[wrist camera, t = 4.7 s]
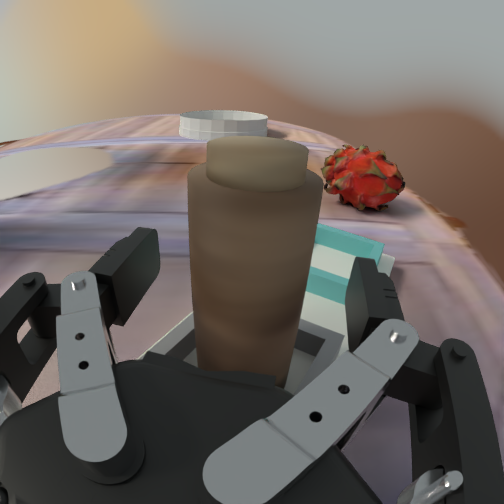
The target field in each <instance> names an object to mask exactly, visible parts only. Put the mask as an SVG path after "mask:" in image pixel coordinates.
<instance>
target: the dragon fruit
mask: <svg viewBox="0 0 504 504" xmlns="http://www.w3.org/2000/svg"><path fill="white" fill-rule="evenodd" d="M344 146H345V147H346V149H345V150H344V149H337V150H336V151H335V152H334V156H333V155H330V156H329V157H327V158H325V163H324V165H325V167H323V168H321V170H322V174H323V177H324V178H325V179H326V182H327V183H328V184H329V185H330V186H331V187H329V188H327V186H328V184H327V183H326V184H325V185H324V189H325V190H326V192H327V193H329V194H340V197H339V199H340V202H341V203H342V204H346V203H349V202H351V203H352V204H353V206H354V207H356V208H359V209H358V210H363V209H364V208H365V206H366V207H371V208H374V209H376V210H377V211H381V210H384V209H386V208H388V205H385V206H384V205H380V204H384V203H387V202H390V201H392V200H393V199H394V198H395V197H396V196H397V195H399V193H400V192H401V191H403V190H404V187H405V182H403V177H402V175H401V173H400V172H399V171H398V169H397V165H396V164H395V163H393V162H390V161H387V160H386V155H385V152H384V151H383V150H379V151H377V152H374V153H373V152H370V151H369V148H368V146H364V145H362V146H360V148H357V149H354V148H352V146H350V145H343V147H344ZM378 205H379V206H378Z"/></svg>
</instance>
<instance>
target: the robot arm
mask: <svg viewBox="0 0 504 504" xmlns="http://www.w3.org/2000/svg"><path fill="white" fill-rule="evenodd" d="M159 270H160V253H159V243H158V234H157V231H156V230H155V229H150V228H142V227H138V228H137V229H136V230H135V231H134V232H133V233H132V234H131V235H130V236H129V237H125V238H123V239H121V240H120V241H118V242H116V243H115V244H114V245H113V246H112V247H111V248H110V250H108V251H107V252H106V253H105V254H104V256H102V257H101V258H100V259H99V260H98V261H97V262H96V263H95V264H94V265H93V266H92V267H91V268H90V270H89V271H79V272H75V273H72V274H70V275H68V276H67V277H66V278H64V280H63V281H62V283H61V284H47V283H46V280H45V277H44V275H43V274H42V273H39V272H32V273H28V274H25V275H23V276H22V277H20V278H19V279H18V280H17V281H16V282H15V283H14V284H13V285H12V286H11V287H10V288H9V289H8V290H7V291H6V292H5V293H4V295H3V296H2V297H1V298H0V504H383V503H382V502H381V501H380V499H379V498H378V497H377V496H376V495H375V493H374V492H373V491H372V490H371V488H370V487H369V486H368V485H367V483H366V482H365V481H364V480H363V478H362V477H361V476H360V475H359V473H358V472H357V471H356V470H355V468H354V467H353V466H352V465H351V463H350V462H349V461H348V460H347V458H346V457H345V456H344V454H343V453H342V451H343V450H344V448H345V447H346V446H347V445H348V444H349V443H350V441H351V440H352V439H353V438H354V436H355V435H356V434H357V433H358V431H359V430H360V429H361V428H362V427H363V425H364V424H365V423H366V422H367V421H368V419H369V418H370V417H371V416H372V415H373V413H374V412H375V411H376V410H377V408H378V407H379V406H380V405H381V403H382V402H383V401H384V400H385V398H386V397H387V396H390V397H392V398H395V399H398V400H402V401H405V402H408V406H409V417H410V431H411V448H412V483H411V484H410V485H408V486H407V487H406V488H405V489H404V490H403V491H402V492H401V493H400V495H399V497H398V501H397V504H504V472H503V466H502V459H501V454H500V448H499V443H498V438H497V433H496V428H495V424H494V420H493V415H492V411H491V407H490V403H489V400H488V396H487V392H486V389H485V385H484V382H483V378H482V375H481V372H480V368H479V365H478V362H477V359H476V356H475V353H474V351H473V350H472V348H471V347H470V346H469V345H468V344H466V343H465V342H463V341H461V340H458V339H452V338H451V339H447V340H445V341H444V342H443V343H442V344H441V346H440V348H439V347H436V346H433V345H430V344H427V343H425V342H422V341H420V340H419V336H418V333H417V331H416V330H415V329H414V327H413V326H411V325H410V324H409V323H407V322H405V320H404V317H403V313H402V310H401V306H400V303H399V300H398V299H397V298H398V297H397V293H396V292H395V287H394V284H393V281H392V280H391V279H390V278H389V277H388V275H387V274H386V273H381V272H378V269H377V265H376V262H375V259H371V258H364V257H357V256H356V257H355V259H354V263H353V267H352V270H351V274H350V278H349V282H348V285H347V289H346V294H345V312H346V323H347V335H348V348H349V350H347V351H345V352H344V353H343V354H342V355H341V356H339V357H338V358H337V359H336V360H335V361H334V362H333V363H332V364H331V365H330V366H329V367H328V368H326V369H325V370H324V371H323V372H322V373H321V374H320V375H319V376H317V377H316V378H315V379H314V380H313V381H312V382H311V383H309V384H308V385H307V386H306V387H305V388H304V389H303V390H301V391H300V392H299V393H298V394H297V395H293V394H291V393H290V392H288V391H286V390H284V389H282V388H280V387H277V386H275V380H276V376H273V375H266V374H260V373H253V372H247V371H205V370H202V369H200V368H198V367H196V366H194V365H191V364H189V363H187V362H185V361H183V360H181V359H178V358H176V357H172V356H167V355H163V354H159V353H155V352H151V351H147V352H146V354H145V356H144V358H143V359H136V360H127V361H123V362H119V363H118V360H117V356H116V352H115V348H114V344H113V339H112V335H111V331H110V326H111V325H112V324H115V325H119V326H124V325H125V323H126V322H127V320H128V319H129V317H130V316H131V314H132V313H133V311H134V310H135V308H136V307H137V305H138V304H139V302H140V301H141V299H142V298H143V296H144V295H145V293H146V292H147V290H148V289H149V287H150V286H151V284H152V283H153V281H154V280H155V279H156V277H157V276H158V273H159ZM27 319H28V322H29V324H30V326H31V329H30V330H29V331H28V333H27V334H26V335H25V337H24V338H23V339H22V341H21V342H20V344H19V343H18V341H17V333H18V330H19V329H20V327H21V326H22V325H23V323H24V322H25V321H26V320H27ZM56 348H57V354H58V368H59V380H60V389H61V390H60V391H58V392H56V393H54V394H52V395H50V396H48V397H46V398H43V399H41V400H39V401H37V402H35V403H33V404H31V405H29V406H26V407H24V408H22V403H23V401H24V399H25V397H26V396H27V394H28V392H29V391H30V389H31V387H32V386H33V384H34V382H35V381H36V379H37V378H38V376H39V374H40V373H41V371H42V370H43V368H44V366H45V365H46V363H47V362H48V360H49V359H50V357H51V355H52V354H53V352H54V351H55V349H56Z"/></svg>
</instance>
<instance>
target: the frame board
mask: <svg viewBox="0 0 504 504" xmlns="http://www.w3.org/2000/svg"><path fill="white" fill-rule="evenodd" d="M384 245H385V244H383V243H380V242H377V241H374V240H371V239H368V238H365V237H361V236H358V235H355V234H352V233H349V232H345V231H342V230H339V229H336V228H332V227H329V226H326V225H322V224H319V223H318V224H317V230H316V236H315V242H314V248H313V253H312V259H311V265H310V270H309V276H308V281H307V286H306V292H305V297H304V302H303V307H302V312H301V317H300V322H299V327H298V331H297V336H296V341H295V345H294V350H293V355H292V359H291V363H290V368H289V372H288V377H287V381H286V385H285V388H284V390H286V391H288V392H290V393H291V394H293V395H297V394H298V393H299V392H300V391H301V390H303V389H304V388H305V387H306V386H307V385H308V384H309V383H311V382H312V381H313V380H314V379H315V378H316V377H317V376H319V375H320V374H321V373H322V372H323V371H324V370H325V369H326V368H328V367H329V366H330V365H331V364H332V363H333V362H334V361H335V360H336V359H337V358H338V357H339V356H341V355H342V354H343V353H344V352H345V351H347V350H349V348H348V335H347V323H346V312H345V294H346V289H347V285H348V282H349V278H350V274H351V270H352V267H353V263H354V259H355V257H356V256H357V257H364V258H371V259H375V262H376V265H377V269H378V272H381V273H386V274H387V275H388V277H389V276H390V273H391V270H392V266H393V263H394V260H395V257H392V256H389V255H386V254H383V253H382V252H383V248H384ZM147 351H151V352H155V353H159V354H163V355H167V356H172V357H176V358H178V359H181V360H183V361H185V362H187V363H189V364H191V365H194V366H196V367H198V364H197V353H196V342H195V329H194V316H193V311H192V312H191V313H190V314H189V315H188V316H186V317H185V318H184V319H183V320H182V321H181V322H179V323H178V324H177V325H176V326H175V327H174V328H172V329H171V330H170V331H169V332H168V333H167V334H165V335H164V336H163V337H162V338H161V339H160V340H158V341H157V342H156V343H155V344H154V345H153V346H151V347H150V348H149V349H148V350H147ZM147 351H145V352H144V353H143V354H142V355H141V356H140V357H138V358H137V359H143V358H144V356H145V354H146V352H147Z"/></svg>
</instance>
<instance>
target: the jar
mask: <svg viewBox="0 0 504 504" xmlns="http://www.w3.org/2000/svg"><path fill="white" fill-rule="evenodd" d="M308 153H309V150H308V148H306V147H305V146H303V145H301V144H299V143H296V142H292V141H288V140H284V139H279V138H272V137H263V136H228V137H221V138H216V139H213V140H210V141H209V142H208V143H207V161H206V162H205V163H202V164H200V165H197V166H195V167H194V168H192V169H191V170H190V171H189V172H188V176H187V179H188V222H189V248H190V269H191V287H192V302H193V316H194V329H195V342H196V353H197V364H198V368H200V369H202V370H205V371H247V372H253V373H260V374H266V375H273V376H276V380H275V386H277V387H280V388H282V389H284V388H285V385H286V381H287V377H288V372H289V368H290V363H291V359H292V355H293V350H294V345H295V341H296V336H297V331H298V327H299V322H300V317H301V312H302V307H303V302H304V297H305V292H306V286H307V281H308V276H309V270H310V265H311V259H312V253H313V248H314V242H315V236H316V230H317V224H318V218H319V211H320V205H321V199H322V192H323V185H324V183H323V180H322V179H321V178H320V177H319V176H318V175H317V174H316V173H314V172H312V171H310V170H308V169H307V161H308Z"/></svg>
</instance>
